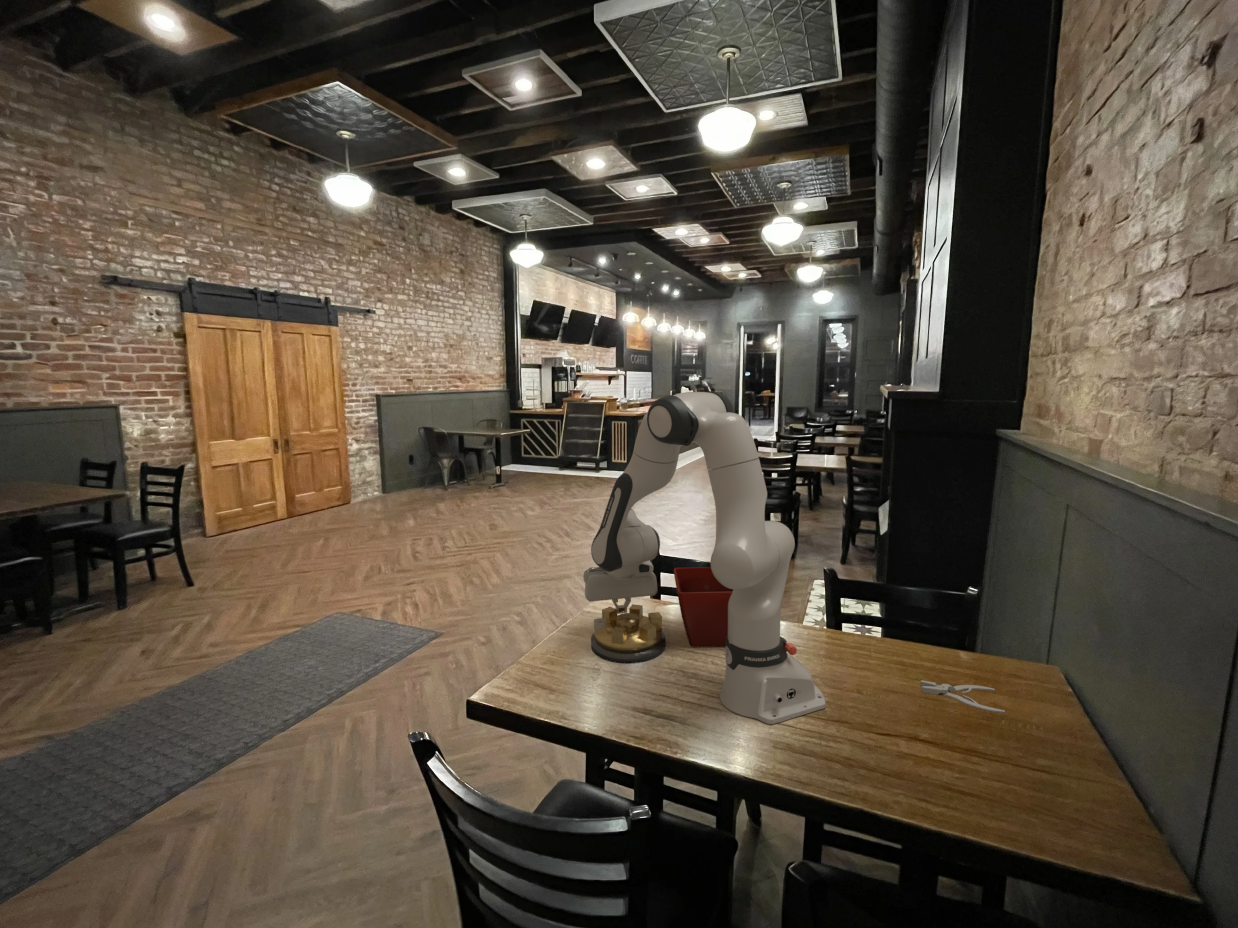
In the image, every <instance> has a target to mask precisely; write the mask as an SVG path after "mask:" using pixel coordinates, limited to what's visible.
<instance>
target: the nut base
mask: <svg viewBox="0 0 1238 928" xmlns="http://www.w3.org/2000/svg"><path fill="white" fill-rule="evenodd" d="M666 638H667V637H666V635H665V632H664V631H662V640H661V642H660V643H659V644H658V645H657V646H656V647H654V648H652V649H650V650H647V651H643V652H638V653H616V652H612V651H608V650H605V649H603V648H601V647H600V646H599V645H597V643H596V642H595V632H593V634H592V635H591V638H590V649H591V650H592V653H593V654H594V655H595V656H597V657H598V658H600V659H602V660H605V661H607V662H611V663H616V664H617V663H618V664H637V663H638V664H639V663H644V662H648V661H651V660H654V659H656V658H657V657H659V656H660V655H662V654H663V653H664V652H665V650H666V648H667V647H666V646H667V644H666V643H667V642H666V640H667V639H666ZM665 647H666V648H665Z"/></svg>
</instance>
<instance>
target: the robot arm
mask: <svg viewBox="0 0 1238 928" xmlns="http://www.w3.org/2000/svg"><path fill="white" fill-rule="evenodd" d="M692 443H693V444H696V445H697V446H699V447H700V449H701V451H702V452H703V456H704V460H705V465H706V469H707V472H708V473H707V474H708V477H709V482H710V486H711V487H710V488H711V491H712V494H713V500H714V506H715V507H714V508H715V543H714V547H713V551H712V553H711V556H710V567H711V569H712V572H713V574H714V576H715V578H716V579H717V580H718V581H719V582H720V583H721V584H722V585H723V586H725V587H727V588H730V589H733V592H732V595H731V597H730V599H729V602H728V634H727V636H726V647H724V657H725V663H726V665H725V674H724V679H723V683H722V686H721V690H720V693H719V700H720V702H721V703H722V704H723V706H724V707H725V708H727V709H728V710H729V711H731V712H733V713H735V714H737V715H740V716H744V717H748V718H753V719H756V720H758V721H760V722H763V723H765V724H769V725H775V724H778V723H781V722H784V721H789V720H790V719H793V718H797V717H800V716H804V715H806V714H811V713H814V712H818V711H820V710H822V709H825V708H826V698H825V696H824V694H823V693H822V691H821V690H820V689H819V688H818V687H817V686H816V685H815V683H814V679H813V677H812V674H811V672H810V671H809V669H808V668H807V667H806V666H805V665H804V664H803V663H802V662H801V661H799V660H798V659H796V658H795V657H794V656H795V655H796V653H798V652H797V651H798V648H797V647H796V645H794V644H793V642H792V643H791V642H788V641H787V640H786V639H785V638H784V637H782V636H781V617H782V615H781V613H782V603H783V596H784V593H785V589H786V588H785V587H786V584H787V579H788V572H789V568H790V567H789V566H790V561H791V558H792V555H793V553H794V550H795V546H796V543H795V541H796V540H795V537H794V535H793V533H792V531H791V529H790V528H789V527H788V526H786V524H784V523H782V522H780V521H777V520H776V521H775V520H766V518H765V516H766V515H765V514H766V513H765V511H766V502H767V499H768V490H767V486H766V481H765V477H764V474H763V469H762V466H761V461H760V458H759V453H758V450H757V447H756V443H755V441H754V438H753V435H752V433H751V430H750V428H749V426H748V424H747V422H746V419H744V417H743V416H742V415H740V414H738V413H735V412H734V407H733V404H732V402H731V400H730V399H729V398H728V397H727V396H726V395H724V394H723V393H720V392H718V391H710V390H707V391H686V392H680V393H676V394H669V395H664V396H663V397H662V396H661V397H659V398H657V400H654V401H653V402H652V403H651V405H650V406H649V408H648V410H647V412H646V413H645V414H644V416H643V418H642V419H641V422H640V424H639V428H638V431H637V434H636V438H635V441H634V446H633V451H632V455H631V458H630V460H629V463H628V464H627V466H626V468H625V469H624V470H623V473H621V474H620V475H619V476H618V477H617V479H616V480H615V482H614V485H613V487H612V490H611V492H610V495H609V498H608V502H607V505H606V507H605V510H604V513H603V515H602V516H603V517H602V520H601V522H600V525H599V528H598V531H597V533H596V534H595V537H594V538H593V539H592V540H593V541H592V543H591V546H590V551H591V552H590V553H591V558H592V561H593V562H594V563H595V565H597V566H596V567H595V566H594V567H593V566H592V567H588V568H587V569H586V570H585V571H583V581H584V583H585V585H584V596H585V600H586V601H588V602H589V603H591V602H592V603H593V602H600V601H601V602H602V601H609V600H611V601H612V604H613V605H614V608H615V609H617V615H620V614H624V613H628V607H629V605H630V603H631V602H632V598H642V597H652V596H656V595H657V593H658V582H657V576H656V574H655V573H654V572H653V571H654V565H653V563H652V562H651V561H652V560H655V559H656V558H657V556H658V554H659V552H660V549H661V541H660V540H661V538H660V536H659V535H660V534H659V533H658V532H657V530H656V529H655V528H654V527H652V526H651V525H648V524H645V523H644V522H643V521H642V520H641V519H640V518H638V516H637V515H636V513H635V510H634V509H633V507H634V505H635V504H636V503H638V502H639V501H640V500H642V499H644V498H645V497H647V496H649V495H650V494H653V493H655V492H657V491H659V490H661V489H663V488H664V487H666V486H667V485H669V483H670V482H671V481H672V479H673V478H674V475H675V473H676V470H677V466H678V461H679V456H680V452H681V447H683V446H684V447H689V446H690V445H691V444H692ZM621 599H624V600H625V601H624V603H623V604H620V605H619V604H618V602H619V600H621Z"/></svg>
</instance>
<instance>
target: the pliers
mask: <svg viewBox="0 0 1238 928" xmlns="http://www.w3.org/2000/svg"><path fill="white" fill-rule="evenodd" d="M920 687H921V692H922V694H923V693H924V694H929V695H937V696H938V695H939V694H941V695H943V696H944V697H948V698H951V699H954V700H956V701H958V702H960V703H961V704H964V705H966V706H969V707H972V708H976V709H979V710H983V711H987V712H992V713H1000V714H1006V711H1005V710H1004V709H999V708H995V707H990V706H987V705H983V704H980V703H978V702H977V701H975V700H974V699H973V698H971V697H970V696H967V695H964V694H969V693H971V692H972V691H973V690H975V691H976V690H980V691H989V692H990V691H991V692H995V691H996V690H995V688H993V687H989V686H982V685H974V684H960V685H955V686H952V685H951V684H949V683H941V684H937V682H933V681H928V680H923V679H922V680H920ZM950 692H952V693H950ZM953 692H954V693H953ZM957 692H961V694H962V696H960V695H957V694H955V693H957Z"/></svg>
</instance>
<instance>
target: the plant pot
mask: <svg viewBox="0 0 1238 928" xmlns="http://www.w3.org/2000/svg"><path fill="white" fill-rule="evenodd" d="M673 575H674V581H675V588H676V594H677V599H678V604H679V609H680V614H681V618H682V619H681V620H682V624H683V629H684V631H685V635H686V638H687V641H688V644H689V646H690V647H691V648H722V647H723V648H725V647H726V636H727V634H728V602H729V599H730V597H731V595H732V592H733V589H730V588H727V587H725V586H723V585H722V584H721V583H720V582H719V581H718V580H717V579H716V578H715V576H714V574H713V572H712V569H711V566H708V567H707V566H704V567H703V566H700V567H698V566H695V567H694V566H693V567H674V568H673Z"/></svg>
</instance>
